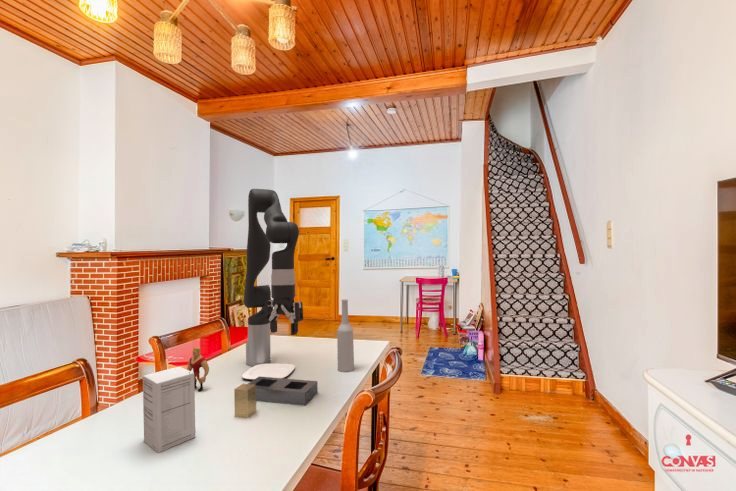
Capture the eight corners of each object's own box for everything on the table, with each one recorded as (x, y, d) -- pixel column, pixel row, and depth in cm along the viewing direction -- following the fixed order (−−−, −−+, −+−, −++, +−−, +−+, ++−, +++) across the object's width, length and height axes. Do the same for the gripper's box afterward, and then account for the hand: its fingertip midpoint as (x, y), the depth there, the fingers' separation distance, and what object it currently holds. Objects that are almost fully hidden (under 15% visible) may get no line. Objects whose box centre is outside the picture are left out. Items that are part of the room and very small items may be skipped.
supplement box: (181, 426, 99) (180, 365, 99) (196, 437, 93) (196, 372, 93) (142, 441, 91) (141, 374, 91) (156, 453, 85) (156, 383, 86)
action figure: (181, 389, 125) (181, 346, 125) (190, 386, 129) (189, 344, 129) (202, 393, 122) (202, 349, 122) (210, 389, 125) (210, 346, 126)
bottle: (353, 371, 141) (352, 300, 142) (336, 372, 141) (335, 300, 142) (354, 366, 147) (353, 298, 148) (338, 366, 148) (337, 298, 148)
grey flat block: (242, 399, 116) (242, 387, 116) (259, 387, 126) (259, 376, 126) (305, 405, 111) (305, 392, 111) (317, 393, 120) (317, 381, 121)
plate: (298, 367, 149) (298, 363, 149) (284, 383, 131) (284, 379, 131) (256, 366, 150) (256, 362, 150) (236, 382, 132) (236, 378, 132)
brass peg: (234, 416, 104) (234, 389, 104) (243, 410, 108) (243, 383, 109) (248, 418, 103) (247, 390, 103) (256, 411, 107) (256, 384, 107)
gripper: (258, 283, 116) (259, 333, 116) (292, 284, 109) (293, 338, 109) (275, 281, 123) (275, 329, 122) (307, 282, 116) (308, 333, 115)
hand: (284, 333), depth 115 cm, fingers open, 8 cm apart
